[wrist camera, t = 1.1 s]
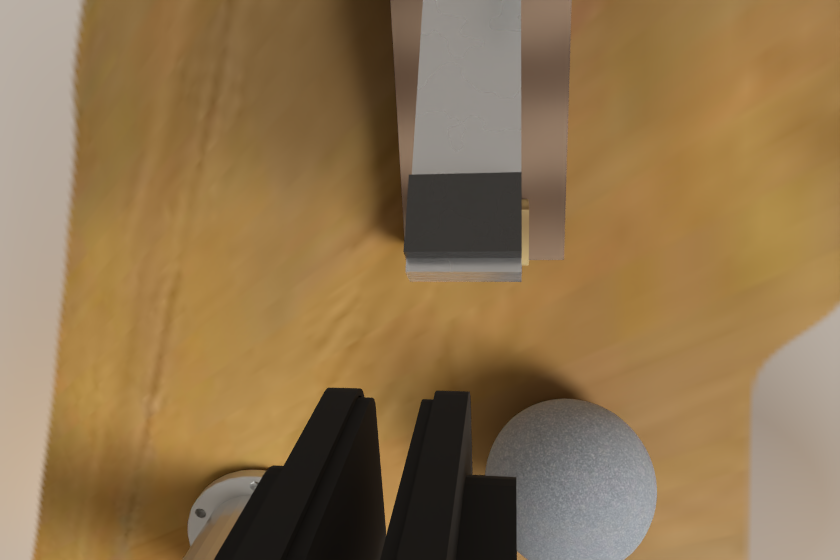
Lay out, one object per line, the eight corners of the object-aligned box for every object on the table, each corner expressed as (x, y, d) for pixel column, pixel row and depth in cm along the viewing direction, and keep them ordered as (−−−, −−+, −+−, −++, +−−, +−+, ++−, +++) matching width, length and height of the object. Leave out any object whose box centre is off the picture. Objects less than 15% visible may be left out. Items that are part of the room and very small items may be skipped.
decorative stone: (500, 501, 46) (496, 617, 36) (477, 378, 42) (466, 471, 33) (645, 491, 44) (680, 612, 34) (632, 361, 40) (668, 455, 31)
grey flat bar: (529, 284, 23) (531, 265, 21) (403, 284, 23) (394, 265, 22) (527, -78, 29) (528, -117, 27) (426, -70, 29) (420, -107, 28)
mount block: (560, 244, 38) (567, 274, 33) (413, 245, 40) (398, 273, 35) (570, -118, 32) (580, -148, 27) (394, -102, 33) (373, -128, 28)
